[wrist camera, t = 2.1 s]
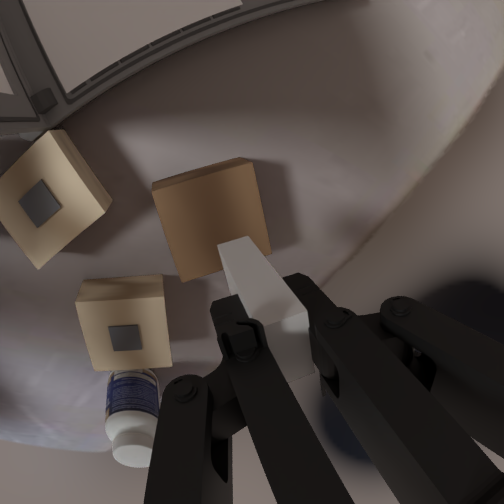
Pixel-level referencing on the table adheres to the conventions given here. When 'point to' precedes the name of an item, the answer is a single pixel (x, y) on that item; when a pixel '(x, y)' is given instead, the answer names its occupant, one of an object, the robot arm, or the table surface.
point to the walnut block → (209, 214)
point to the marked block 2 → (124, 322)
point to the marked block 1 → (50, 197)
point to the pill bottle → (132, 415)
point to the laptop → (97, 48)
